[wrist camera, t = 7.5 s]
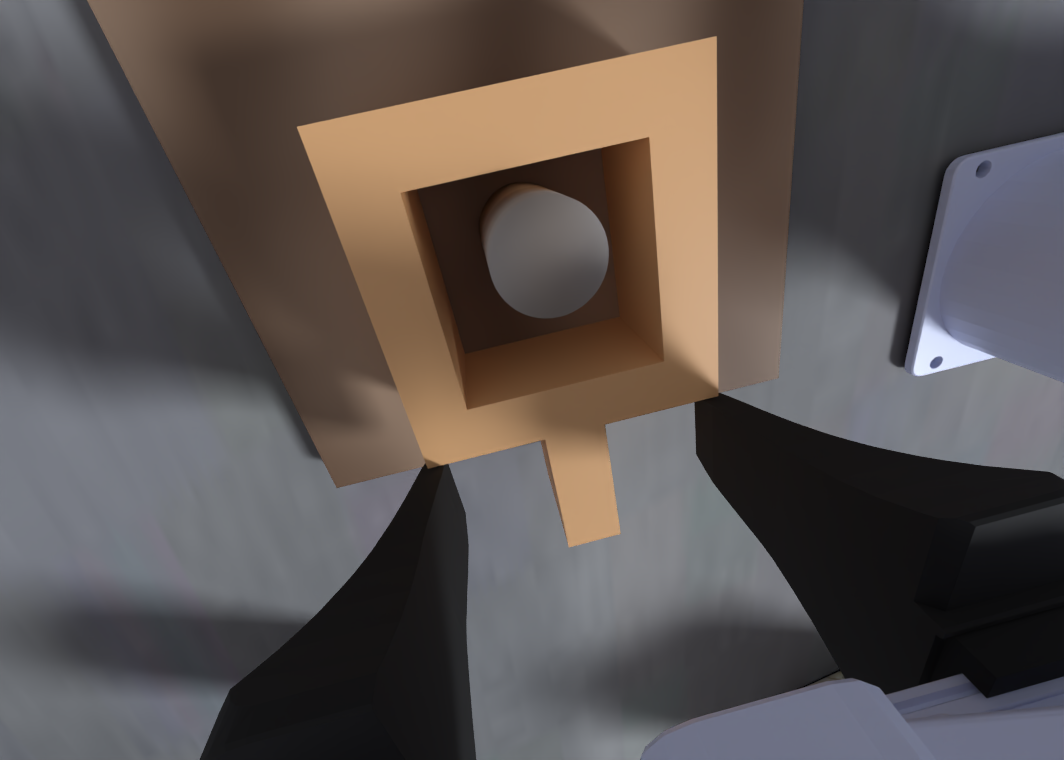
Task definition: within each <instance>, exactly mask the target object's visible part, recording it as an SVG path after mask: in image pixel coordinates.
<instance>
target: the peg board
mask: <svg viewBox="0 0 1064 760" xmlns="http://www.w3.org/2000/svg"><path fill="white" fill-rule="evenodd" d="M87 1H88V3H89V5H90V7H91V9H92V11H93V13H94V15H95V17H96V19H97V21H98V23H99V24H100V26H101V28H102V30H103V32H104V34H105V36H106V38H107V40H108V42H109V44H110V46H111V48H112V50H113V52H114V54H115V56H116V58H117V60H118V62H119V64H120V66H121V67H122V69H123V71H124V73H125V75H126V77H127V79H128V81H129V83H130V85H131V87H132V89H133V91H134V93H135V95H136V97H137V99H138V101H139V103H140V105H141V107H142V108H143V110H144V112H145V114H146V116H147V118H148V120H149V122H150V124H151V126H152V128H153V130H154V132H155V134H156V136H157V138H158V140H159V142H160V144H161V146H162V148H163V149H164V151H165V153H166V155H167V157H168V159H169V161H170V163H171V165H172V167H173V169H174V171H175V173H176V175H177V177H178V179H179V181H180V183H181V185H182V187H183V189H184V191H185V192H186V194H187V196H188V198H189V200H190V202H191V204H192V206H193V208H194V210H195V212H196V214H197V216H198V218H199V220H200V222H201V224H202V226H203V228H204V230H205V232H206V233H207V235H208V237H209V239H210V241H211V243H212V245H213V247H214V249H215V251H216V253H217V255H218V257H219V259H220V261H221V263H222V265H223V267H224V269H225V271H226V273H227V274H228V276H229V278H230V280H231V282H232V284H233V286H234V288H235V290H236V292H237V294H238V296H239V298H240V300H241V302H242V304H243V306H244V308H245V310H246V312H247V314H248V316H249V317H250V319H251V321H252V323H253V325H254V327H255V329H256V331H257V333H258V335H259V337H260V339H261V341H262V343H263V345H264V347H265V349H266V351H267V353H268V355H269V357H270V358H271V360H272V362H273V364H274V366H275V368H276V370H277V372H278V374H279V376H280V378H281V380H282V382H283V384H284V386H285V388H286V390H287V392H288V394H289V396H290V398H291V399H292V401H293V403H294V405H295V407H296V409H297V411H298V413H299V415H300V417H301V419H302V421H303V423H304V425H305V427H306V429H307V431H308V433H309V435H310V437H311V439H312V441H313V442H314V444H315V446H316V448H317V450H318V452H319V454H320V456H321V458H322V460H323V462H324V464H325V466H326V468H327V470H328V472H329V474H330V476H331V478H332V480H333V482H334V483H335V485H336V487H337V488H339V487H343V486H347V485H351V484H355V483H359V482H363V481H367V480H371V479H375V478H379V477H383V476H387V475H391V474H395V473H399V472H403V471H407V470H411V469H415V468H419V467H423V466H424V464H426V463H425V460H424V458H423V455H422V453H421V450H420V447H419V445H418V442H417V440H416V437H415V434H414V432H413V429H412V426H411V424H410V421H409V419H408V416H407V413H406V411H405V408H404V406H403V403H402V400H401V398H400V395H399V393H398V390H397V387H396V385H395V382H394V379H393V377H392V374H391V372H390V369H389V366H388V364H387V361H386V359H385V356H384V353H383V351H382V348H381V346H380V343H379V340H378V338H377V335H376V332H375V330H374V327H373V325H372V322H371V319H370V317H369V314H368V312H367V309H366V306H365V304H364V301H363V299H362V296H361V293H360V291H359V288H358V285H357V283H356V280H355V278H354V275H353V272H352V270H351V267H350V265H349V262H348V259H347V257H346V254H345V252H344V249H343V246H342V244H341V241H340V238H339V236H338V233H337V231H336V228H335V225H334V223H333V220H332V218H331V215H330V212H329V210H328V207H327V205H326V202H325V199H324V197H323V194H322V191H321V189H320V186H319V184H318V181H317V178H316V176H315V173H314V171H313V168H312V165H311V163H310V160H309V158H308V155H307V152H306V150H305V147H304V144H303V142H302V139H301V137H300V134H299V131H298V129H297V127H298V126H303V125H307V124H312V123H317V122H321V121H326V120H331V119H335V118H340V117H344V116H349V115H354V114H358V113H363V112H368V111H372V110H377V109H381V108H386V107H391V106H395V105H400V104H405V103H409V102H414V101H418V100H423V99H428V98H432V97H437V96H442V95H446V94H451V93H455V92H460V91H465V90H469V89H474V88H479V87H483V86H488V85H492V84H497V83H502V82H506V81H511V80H516V79H520V78H525V77H529V76H534V75H539V74H543V73H548V72H553V71H557V70H562V69H566V68H571V67H576V66H580V65H585V64H590V63H594V62H599V61H603V60H608V59H613V58H617V57H622V56H627V55H631V54H636V53H640V52H645V51H650V50H654V49H659V48H664V47H668V46H673V45H677V44H682V43H687V42H691V41H696V40H701V39H705V38H710V37H714V36H717V202H718V393H721V392H725V391H729V390H733V389H737V388H741V387H745V386H749V385H753V384H757V383H761V382H765V381H769V380H773V379H777V378H779V364H780V349H781V334H782V319H783V303H784V288H785V273H786V258H787V243H788V228H789V213H790V198H791V183H792V168H793V153H794V138H795V123H796V108H797V93H798V78H799V63H800V48H801V33H802V17H803V2H804V0H87ZM417 191H418V195H419V198H420V201H421V205H422V208H423V212H424V215H425V219H426V222H427V225H428V229H429V232H430V236H431V239H432V243H433V246H434V250H435V253H436V256H437V260H438V263H439V267H440V270H441V274H442V277H443V280H444V284H445V287H446V291H447V294H448V298H449V301H450V304H451V308H452V311H453V315H454V318H455V322H456V325H457V329H458V332H459V335H460V339H461V342H462V346H463V349H464V353H465V354H467V353H471V352H475V351H479V350H483V349H488V348H492V347H496V346H500V345H504V344H508V343H513V342H517V341H521V340H525V339H529V338H533V337H537V336H542V335H546V334H550V333H554V332H558V331H562V330H567V329H571V328H575V327H579V326H583V325H587V324H591V323H596V322H600V321H604V320H608V319H612V318H616V317H620V315H619V306H618V297H617V288H616V279H615V270H614V261H613V252H612V243H611V234H610V225H609V216H608V207H607V198H606V190H605V181H604V172H603V163H602V154H601V148H598V149H593V150H589V151H584V152H580V153H575V154H571V155H566V156H562V157H557V158H553V159H549V160H544V161H540V162H535V163H531V164H526V165H522V166H517V167H513V168H508V169H504V170H499V171H495V172H491V173H486V174H482V175H477V176H473V177H468V178H464V179H459V180H455V181H450V182H446V183H442V184H437V185H433V186H428V187H424V188H419V189H417Z"/></svg>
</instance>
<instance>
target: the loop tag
mask: <svg viewBox="0 0 1064 760" xmlns="http://www.w3.org/2000/svg"><path fill="white" fill-rule="evenodd" d="M297 129H298V131H299V134H300V137H301V139H302V142H303V144H304V147H305V150H306V152H307V155H308V158H309V160H310V163H311V165H312V168H313V171H314V173H315V176H316V178H317V181H318V184H319V186H320V189H321V191H322V194H323V197H324V199H325V202H326V205H327V207H328V210H329V212H330V215H331V218H332V220H333V223H334V225H335V228H336V231H337V233H338V236H339V238H340V241H341V244H342V246H343V249H344V252H345V254H346V257H347V259H348V262H349V265H350V267H351V270H352V272H353V275H354V278H355V280H356V283H357V285H358V288H359V291H360V293H361V296H362V299H363V301H364V304H365V306H366V309H367V312H368V314H369V317H370V319H371V322H372V325H373V327H374V330H375V332H376V335H377V338H378V340H379V343H380V346H381V348H382V351H383V353H384V356H385V359H386V361H387V364H388V366H389V369H390V372H391V374H392V377H393V379H394V382H395V385H396V387H397V390H398V393H399V395H400V398H401V400H402V403H403V406H404V408H405V411H406V413H407V416H408V419H409V421H410V424H411V426H412V429H413V432H414V434H415V437H416V440H417V442H418V445H419V447H420V450H421V453H422V455H423V458H424V460H425V463H426V466H427V468H428V469H429V468H433V467H437V466H441V465H445V464H449V463H453V462H457V461H461V460H465V459H469V458H473V457H477V456H481V455H485V454H489V453H493V452H497V451H501V450H505V449H509V448H513V447H517V446H521V445H525V444H529V443H533V442H537V441H541V444H542V449H543V453H544V457H545V462H546V466H547V470H548V475H549V478H550V482H551V485H552V489H553V492H554V496H555V499H556V503H557V506H558V510H559V514H560V517H561V521H562V524H563V528H564V531H565V535H566V538H567V542H568V545H569V547H572V546H576V545H580V544H584V543H587V542H591V541H595V540H599V539H603V538H607V537H610V536H614V535H618V534H621V533H620V526H619V519H618V512H617V506H616V499H615V492H614V485H613V478H612V471H611V464H610V457H609V450H608V443H607V436H606V430H605V424H609V423H613V422H617V421H621V420H625V419H629V418H633V417H637V416H641V415H645V414H649V413H653V412H657V411H661V410H665V409H669V408H673V407H677V406H681V405H685V404H689V403H693V402H697V401H701V400H705V399H709V398H713V397H717V396H718V202H717V36H714V37H710V38H705V39H701V40H696V41H691V42H687V43H682V44H677V45H673V46H668V47H664V48H659V49H654V50H650V51H645V52H640V53H636V54H631V55H627V56H622V57H617V58H613V59H608V60H603V61H599V62H594V63H590V64H585V65H580V66H576V67H571V68H566V69H562V70H557V71H553V72H548V73H543V74H539V75H534V76H529V77H525V78H520V79H516V80H511V81H506V82H502V83H497V84H492V85H488V86H483V87H479V88H474V89H469V90H465V91H460V92H455V93H451V94H446V95H442V96H437V97H432V98H428V99H423V100H418V101H414V102H409V103H405V104H400V105H395V106H391V107H386V108H381V109H377V110H372V111H368V112H363V113H358V114H354V115H349V116H344V117H340V118H335V119H331V120H326V121H321V122H317V123H312V124H307V125H303V126H298V127H297ZM598 148H601V154H602V163H603V172H604V181H605V190H606V198H607V207H608V216H609V225H610V234H611V243H612V252H613V261H614V270H615V279H616V288H617V297H618V306H619V315H620V317H616V318H612V319H608V320H604V321H600V322H596V323H591V324H587V325H583V326H579V327H575V328H571V329H567V330H562V331H558V332H554V333H550V334H546V335H542V336H537V337H533V338H529V339H525V340H521V341H517V342H513V343H508V344H504V345H500V346H496V347H492V348H488V349H483V350H479V351H475V352H471V353H467V354H465V353H464V349H463V346H462V342H461V339H460V335H459V332H458V329H457V325H456V322H455V318H454V315H453V311H452V308H451V304H450V301H449V298H448V294H447V291H446V287H445V284H444V280H443V277H442V274H441V270H440V267H439V263H438V260H437V256H436V253H435V250H434V246H433V243H432V239H431V236H430V232H429V229H428V225H427V222H426V219H425V215H424V212H423V208H422V205H421V201H420V198H419V195H418V191H417V189H419V188H424V187H428V186H433V185H437V184H442V183H446V182H450V181H455V180H459V179H464V178H468V177H473V176H477V175H482V174H486V173H491V172H495V171H499V170H504V169H508V168H513V167H517V166H522V165H526V164H531V163H535V162H540V161H544V160H549V159H553V158H557V157H562V156H566V155H571V154H575V153H580V152H584V151H589V150H593V149H598Z"/></svg>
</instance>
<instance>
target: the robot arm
mask: <svg viewBox="0 0 1064 760" xmlns="http://www.w3.org/2000/svg"><path fill="white" fill-rule="evenodd" d="M978 166H979V168H978ZM977 168H978V171H977V172H976V170H977ZM994 357H997V358H1000V359H1003V360H1005V361H1008V362H1010V363H1013V364H1016V365H1018V366H1021V367H1024V368H1026V369H1029V370H1032V371H1034V372H1037V373H1040V374H1042V375H1045V376H1048V377H1050V378H1053V379H1056V380H1058V381H1061V382H1063V383H1064V132H1062V133H1058V134H1054V135H1049V136H1045V137H1041V138H1037V139H1032V140H1028V141H1024V142H1019V143H1015V144H1011V145H1006V146H1002V147H998V148H993V149H989V150H985V151H980V152H976V153H972V154H967V155H963V156H960V157H958V158H956V159H955V160H954V161H953V162H952V163H951V164H950V165H949V167H948V168H947V169H946V172H945V175H944V179H943V184H942V189H941V194H940V198H939V203H938V208H937V213H936V218H935V222H934V227H933V232H932V237H931V241H930V246H929V251H928V256H927V260H926V265H925V270H924V275H923V280H922V284H921V289H920V294H919V299H918V303H917V308H916V313H915V318H914V322H913V327H912V332H911V337H910V342H909V346H908V351H907V356H906V361H905V370H906V372H908V373H910V374H912V375H914V376H923V375H927V374H931V373H935V372H939V371H943V370H947V369H951V368H955V367H959V366H963V365H967V364H971V363H975V362H978V361H982V360H986V359H990V358H994ZM695 429H696V454H697V456H698V458H699V460H700V461H701V463H702V465H703V467H704V468H705V470H706V472H707V473H708V475H709V477H710V478H711V480H712V482H713V483H714V484H715V486H716V487H717V488H718V490H719V491H720V492H721V493H722V495H723V496H724V497H725V498H726V500H727V501H728V502H729V504H730V505H731V506H732V507H733V509H734V510H735V511H736V512H737V514H738V515H739V516H740V517H741V519H742V520H743V521H744V522H745V524H746V525H747V526H748V527H749V529H750V530H751V531H752V532H753V533H754V535H755V536H756V537H757V538H758V540H759V541H760V542H761V543H762V545H763V546H764V548H765V549H766V550H767V552H768V553H769V554H770V556H771V557H772V558H773V560H774V562H775V563H776V565H777V566H778V568H779V569H780V571H781V572H782V574H783V575H784V577H785V579H786V580H787V582H788V583H789V585H790V586H791V588H792V589H793V591H794V593H795V594H796V596H797V598H798V599H799V601H800V602H801V604H802V606H803V607H804V609H805V611H806V612H807V614H808V616H809V617H810V619H811V620H812V622H813V624H814V625H815V627H816V629H817V631H818V632H819V634H820V636H821V637H822V639H823V641H824V643H825V644H826V646H827V648H828V650H829V651H830V653H831V655H832V657H833V658H834V660H835V662H836V663H837V665H838V667H839V669H840V671H841V672H842V674H843V676H844V678H845V679H841V680H833V681H825V682H822V683H818V684H815V685H811V686H807V687H804V688H800V689H797V690H793V691H790V692H786V693H782V694H779V695H775V696H772V697H768V698H765V699H761V700H757V701H754V702H750V703H747V704H743V705H739V706H736V707H732V708H729V709H725V710H722V711H718V712H714V713H711V714H707V715H704V716H700V717H697V718H693V719H690V720H688V721H686V722H683V723H681V724H679V725H676V726H674V727H672V728H669V729H667V730H665V731H663V732H662V733H661V734H660V735H659V736H657V737H656V738H655V739H654V740H653V741H652V742H651V743H649V744H648V745H647V746H646V747H645V749H644V751H643V753H642V756H641V759H640V760H1064V479H1062V478H1060V477H1058V476H1057V475H1055V474H1053V473H1050V472H1044V471H1034V470H1023V469H1012V468H1001V467H990V466H981V465H973V464H966V463H959V462H952V461H945V460H938V459H932V458H927V457H921V456H915V455H910V454H906V453H901V452H896V451H891V450H886V449H882V448H877V447H873V446H869V445H865V444H861V443H858V442H854V441H850V440H847V439H843V438H839V437H836V436H833V435H829V434H826V433H823V432H820V431H817V430H814V429H811V428H808V427H805V426H802V425H800V424H797V423H794V422H791V421H789V420H786V419H784V418H781V417H778V416H776V415H773V414H771V413H768V412H766V411H763V410H761V409H758V408H756V407H754V406H751V405H749V404H746V403H744V402H741V401H739V400H737V399H734V398H732V397H729V396H726V395H724V394H721V393H718V396H717V397H713V398H709V399H705V400H701V401H697V402H695ZM468 547H469V545H468V534H467V524H466V514H465V510H464V507H463V505H462V502H461V499H460V496H459V493H458V490H457V488H456V485H455V482H454V479H453V476H452V473H451V470H450V468H449V465H448V464H445V465H441V466H437V467H433V468H429V469H428V468H427V466H426V464H424V466H423V467H422V469H421V471H420V472H419V474H418V476H417V478H416V480H415V482H414V484H413V485H412V487H411V489H410V491H409V493H408V494H407V496H406V498H405V500H404V501H403V503H402V505H401V506H400V508H399V510H398V512H397V513H396V515H395V517H394V518H393V520H392V521H391V523H390V525H389V526H388V528H387V529H386V531H385V532H384V534H383V535H382V537H381V538H380V540H379V541H378V543H377V544H376V546H375V547H374V548H373V550H372V551H371V552H370V554H369V555H368V557H367V558H366V559H365V560H364V562H363V563H362V564H361V565H360V567H359V568H358V569H357V570H356V572H355V573H354V574H353V575H352V576H351V578H350V579H349V580H348V581H347V582H346V583H345V584H344V585H343V586H342V588H341V589H340V590H339V591H338V592H337V593H336V594H335V595H334V596H333V597H332V598H331V599H330V601H329V602H328V603H327V604H326V605H325V606H324V607H323V608H322V609H321V610H320V611H319V612H318V613H317V614H316V615H315V616H314V617H313V618H312V619H311V620H310V621H309V622H308V623H307V624H306V625H305V626H304V627H303V628H302V629H301V630H300V631H299V632H297V633H296V634H295V635H294V636H293V637H292V638H291V639H290V640H289V641H288V642H287V643H285V644H284V645H283V646H282V647H281V648H280V649H279V650H278V651H276V652H275V653H274V654H273V655H272V656H270V657H269V658H268V659H267V660H266V661H264V662H263V663H262V664H261V665H260V666H258V667H257V668H256V669H255V670H253V671H252V672H251V673H250V674H249V675H247V676H246V677H245V678H244V679H243V680H241V681H240V682H239V683H238V684H236V685H235V686H234V687H232V688H231V689H230V691H229V693H228V695H227V697H226V699H225V702H224V704H223V706H222V708H221V710H220V712H219V715H218V717H217V719H216V722H215V724H214V727H213V729H212V731H211V734H210V736H209V739H208V741H207V743H206V746H205V748H204V751H203V753H202V755H201V758H200V760H476V752H475V742H474V731H473V720H472V708H471V696H470V683H469V670H468V655H467V640H466V616H467V584H468Z"/></svg>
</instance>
